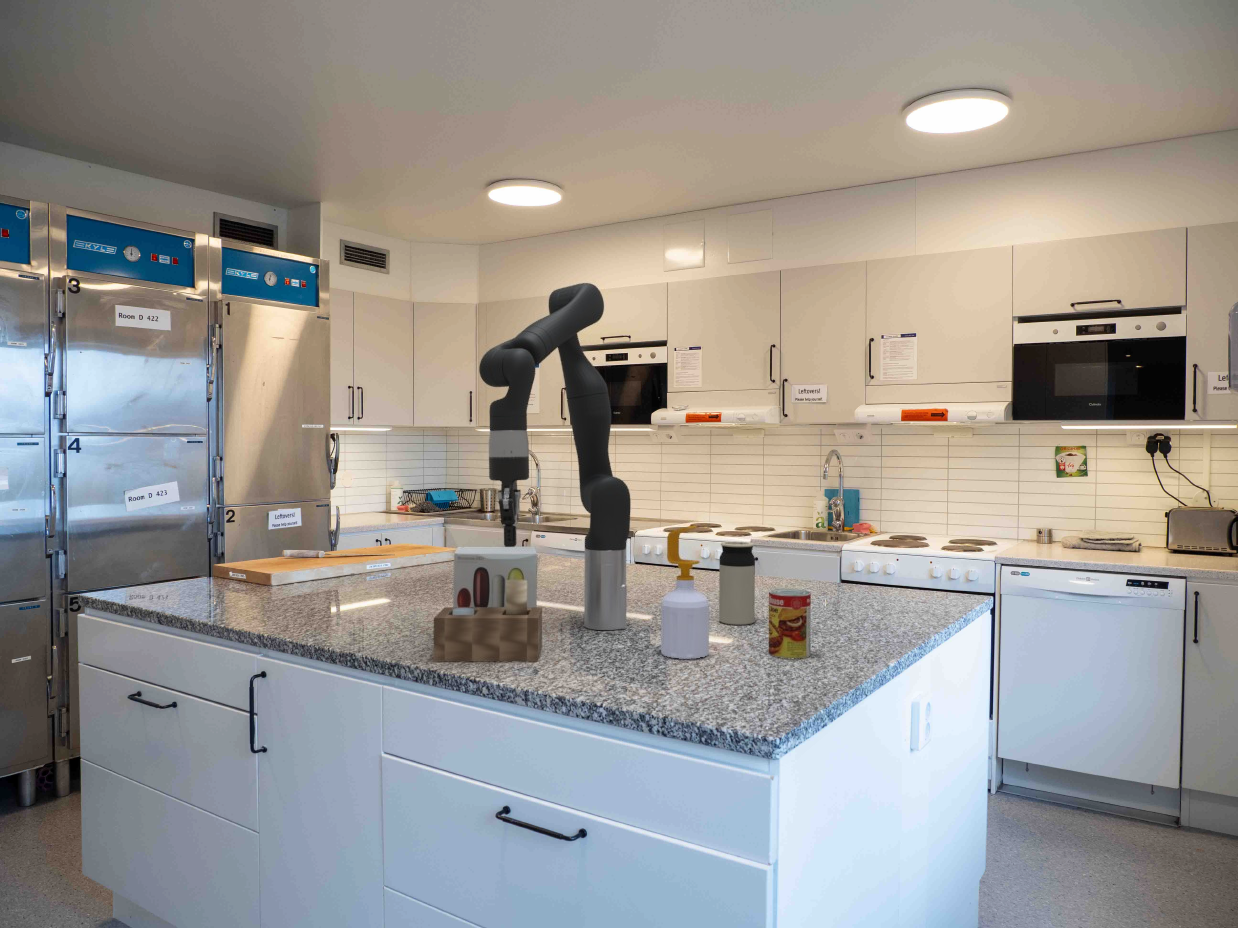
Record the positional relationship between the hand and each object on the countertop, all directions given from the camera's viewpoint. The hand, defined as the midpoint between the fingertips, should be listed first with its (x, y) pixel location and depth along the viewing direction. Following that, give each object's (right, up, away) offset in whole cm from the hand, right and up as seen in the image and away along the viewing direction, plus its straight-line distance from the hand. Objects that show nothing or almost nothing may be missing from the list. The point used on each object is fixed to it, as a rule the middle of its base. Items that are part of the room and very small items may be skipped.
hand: (510, 546), depth 159 cm
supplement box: (-5, -21, +18) cm, 28 cm away
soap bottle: (+33, -21, +1) cm, 39 cm away
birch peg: (+1, -14, 0) cm, 14 cm away
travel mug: (+47, -21, +32) cm, 61 cm away
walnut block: (-4, -21, 0) cm, 21 cm away
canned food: (+53, -21, +1) cm, 57 cm away
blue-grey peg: (-9, -19, 0) cm, 21 cm away
